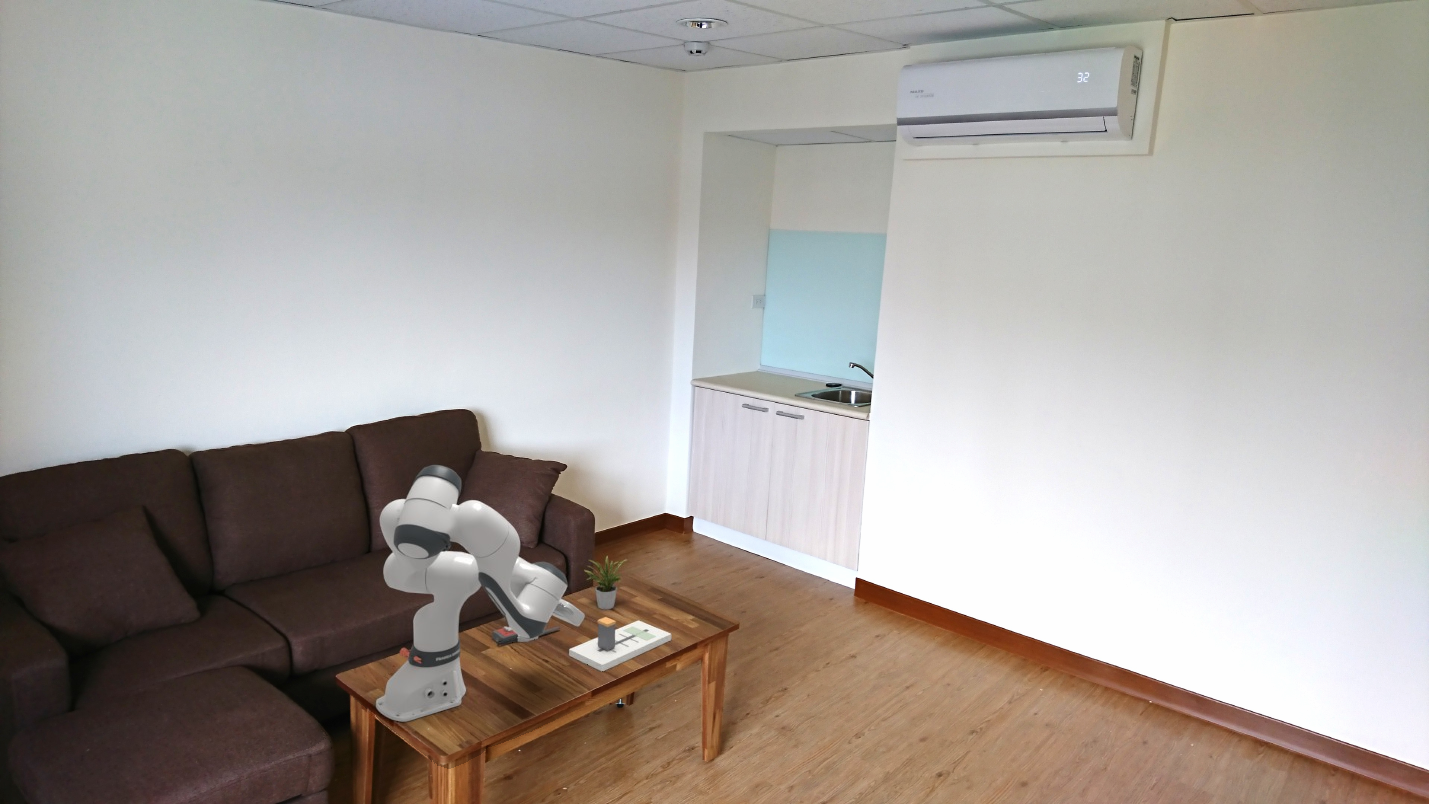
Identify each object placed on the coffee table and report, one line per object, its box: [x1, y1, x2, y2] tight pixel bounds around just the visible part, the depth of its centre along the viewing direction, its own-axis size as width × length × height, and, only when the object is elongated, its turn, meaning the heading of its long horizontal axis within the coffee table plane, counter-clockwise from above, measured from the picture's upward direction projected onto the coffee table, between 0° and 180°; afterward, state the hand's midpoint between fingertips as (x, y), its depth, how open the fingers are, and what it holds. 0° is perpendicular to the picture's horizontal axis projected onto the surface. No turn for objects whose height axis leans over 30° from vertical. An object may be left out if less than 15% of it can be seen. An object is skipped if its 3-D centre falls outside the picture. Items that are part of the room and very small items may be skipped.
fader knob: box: [597, 616, 617, 651], centre depth 262 cm, size 3×4×8 cm
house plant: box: [583, 555, 629, 610], centre depth 297 cm, size 14×14×16 cm
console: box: [568, 619, 672, 672], centre depth 267 cm, size 28×14×2 cm, turn 140°
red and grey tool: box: [492, 626, 561, 646], centre depth 274 cm, size 9×4×20 cm
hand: (568, 619), depth 250 cm, fingers open, 4 cm apart
